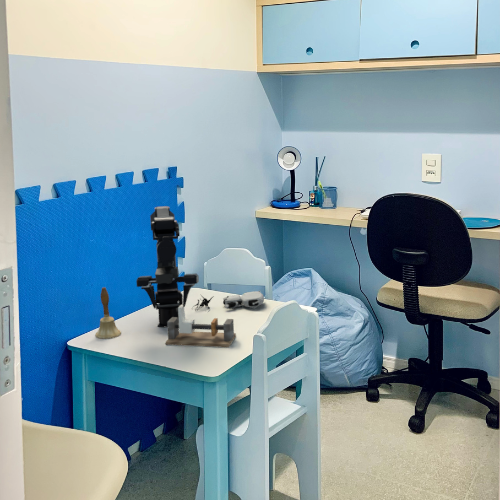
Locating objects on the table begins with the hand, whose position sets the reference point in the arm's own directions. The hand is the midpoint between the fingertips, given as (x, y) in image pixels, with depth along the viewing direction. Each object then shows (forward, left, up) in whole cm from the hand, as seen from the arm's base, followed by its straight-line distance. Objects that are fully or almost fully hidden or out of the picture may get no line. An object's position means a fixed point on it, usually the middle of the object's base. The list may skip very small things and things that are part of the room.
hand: (169, 307), depth 202 cm
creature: (+1, +32, -11) cm, 34 cm away
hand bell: (-23, +3, -11) cm, 25 cm away
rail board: (+9, +1, -11) cm, 14 cm away
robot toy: (+15, +38, -11) cm, 42 cm away
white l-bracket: (+5, +1, -8) cm, 9 cm away
